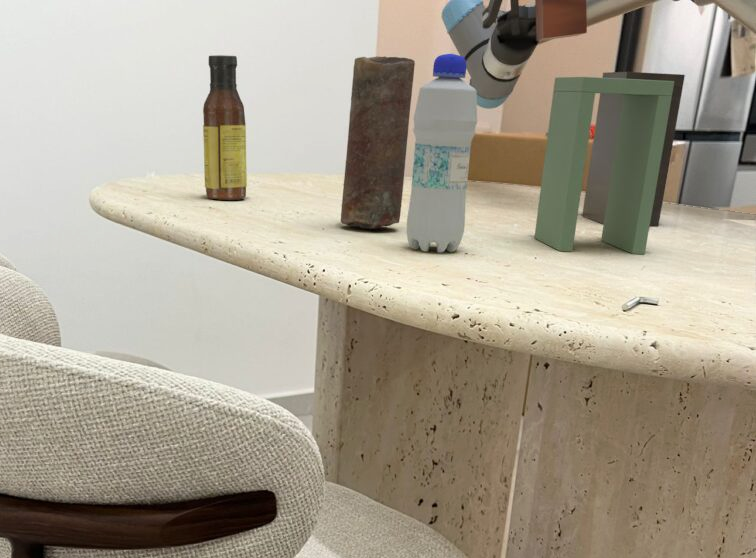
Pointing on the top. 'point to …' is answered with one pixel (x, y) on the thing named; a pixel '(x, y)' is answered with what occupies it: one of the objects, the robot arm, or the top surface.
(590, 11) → the robot arm
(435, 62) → the bottle
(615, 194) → the green arch
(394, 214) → the rusty brown cylinder
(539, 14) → the brown box
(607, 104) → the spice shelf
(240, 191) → the sauce bottle
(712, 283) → the top surface
